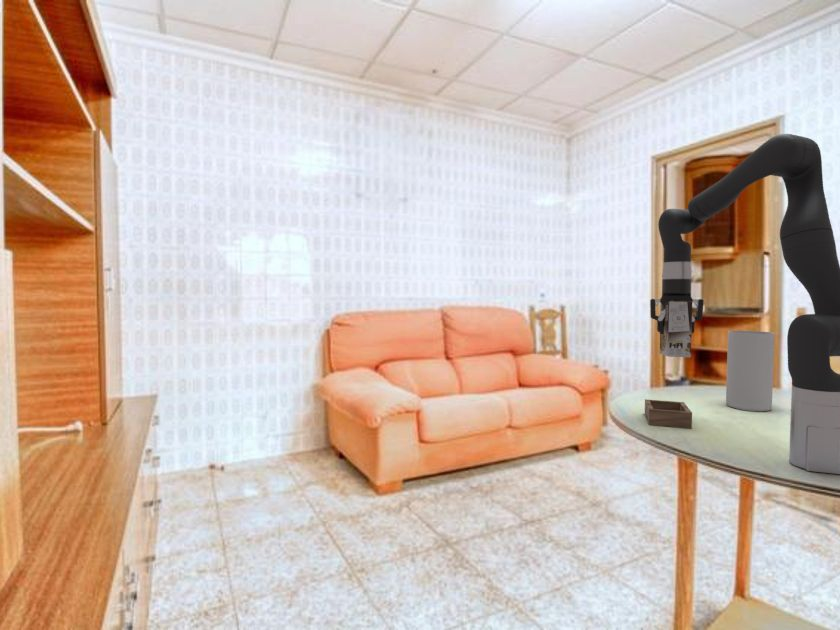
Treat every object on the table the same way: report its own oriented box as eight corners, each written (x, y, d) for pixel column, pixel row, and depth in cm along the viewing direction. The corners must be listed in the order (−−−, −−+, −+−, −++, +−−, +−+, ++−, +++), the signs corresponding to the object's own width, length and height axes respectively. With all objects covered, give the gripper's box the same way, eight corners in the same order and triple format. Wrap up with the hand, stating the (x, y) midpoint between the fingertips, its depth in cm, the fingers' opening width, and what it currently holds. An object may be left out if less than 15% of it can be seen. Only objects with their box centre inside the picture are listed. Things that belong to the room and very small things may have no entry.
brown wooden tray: (691, 428, 132) (692, 412, 132) (648, 424, 136) (649, 409, 136) (683, 416, 145) (683, 402, 145) (644, 413, 149) (644, 399, 149)
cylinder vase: (726, 409, 155) (728, 332, 154) (725, 401, 166) (727, 330, 165) (774, 414, 149) (776, 334, 147) (769, 405, 159) (771, 331, 158)
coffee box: (692, 357, 135) (693, 301, 134) (667, 357, 136) (668, 301, 136) (681, 353, 144) (683, 300, 143) (658, 353, 145) (659, 300, 145)
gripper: (650, 277, 138) (649, 334, 139) (707, 277, 133) (705, 336, 134) (648, 278, 145) (647, 332, 146) (702, 278, 140) (701, 334, 141)
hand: (675, 334), depth 140 cm, fingers closed on coffee box, 7 cm apart
